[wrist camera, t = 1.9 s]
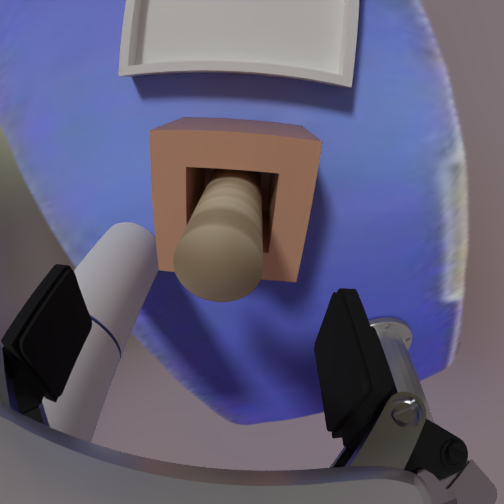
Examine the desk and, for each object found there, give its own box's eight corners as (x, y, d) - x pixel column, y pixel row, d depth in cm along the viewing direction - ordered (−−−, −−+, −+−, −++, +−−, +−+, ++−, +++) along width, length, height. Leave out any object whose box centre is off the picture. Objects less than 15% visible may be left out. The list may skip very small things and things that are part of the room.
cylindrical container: (172, 241, 28) (73, 505, 7) (151, 287, 31) (76, 502, 10) (111, 211, 26) (-42, 431, 5) (98, 261, 30) (-9, 454, 8)
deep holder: (287, 230, 27) (296, 282, 20) (183, 222, 27) (158, 270, 20) (302, 125, 22) (322, 141, 15) (183, 117, 22) (150, 130, 15)
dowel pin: (258, 202, 25) (258, 305, 14) (213, 198, 25) (176, 297, 14) (263, 157, 23) (267, 231, 12) (214, 154, 22) (170, 223, 11)
